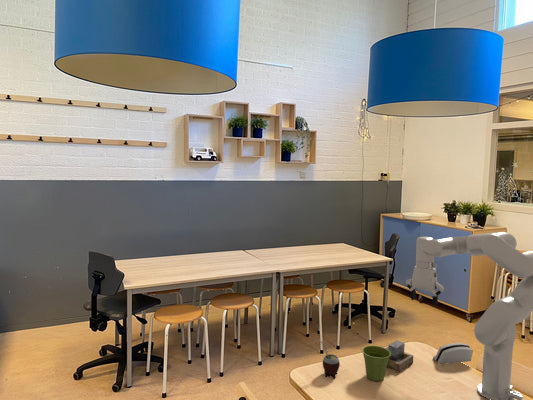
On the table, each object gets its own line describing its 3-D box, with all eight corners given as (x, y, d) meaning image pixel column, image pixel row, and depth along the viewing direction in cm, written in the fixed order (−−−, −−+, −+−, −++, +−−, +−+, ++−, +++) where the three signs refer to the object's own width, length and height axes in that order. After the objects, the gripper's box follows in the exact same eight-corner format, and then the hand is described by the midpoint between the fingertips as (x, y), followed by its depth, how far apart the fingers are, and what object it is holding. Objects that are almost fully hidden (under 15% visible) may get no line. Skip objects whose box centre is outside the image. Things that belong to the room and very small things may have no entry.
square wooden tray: (413, 363, 181) (413, 355, 181) (399, 372, 172) (399, 364, 172) (388, 353, 190) (388, 346, 190) (374, 362, 181) (374, 354, 181)
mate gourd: (342, 377, 168) (343, 342, 167) (327, 381, 165) (328, 346, 164) (331, 369, 175) (332, 335, 174) (316, 373, 171) (317, 339, 170)
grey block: (403, 360, 181) (404, 343, 181) (396, 365, 176) (396, 347, 176) (391, 355, 186) (392, 339, 185) (383, 360, 181) (384, 343, 180)
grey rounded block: (463, 356, 188) (469, 339, 184) (470, 363, 184) (476, 347, 180) (431, 359, 185) (437, 342, 181) (437, 367, 181) (443, 350, 177)
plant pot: (391, 386, 162) (392, 359, 161) (361, 382, 164) (362, 356, 163) (388, 371, 173) (389, 346, 172) (360, 368, 176) (361, 343, 175)
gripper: (447, 266, 176) (446, 304, 178) (410, 260, 189) (409, 295, 190) (441, 269, 171) (439, 308, 172) (402, 262, 183) (401, 299, 184)
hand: (423, 301), depth 181 cm, fingers open, 9 cm apart
